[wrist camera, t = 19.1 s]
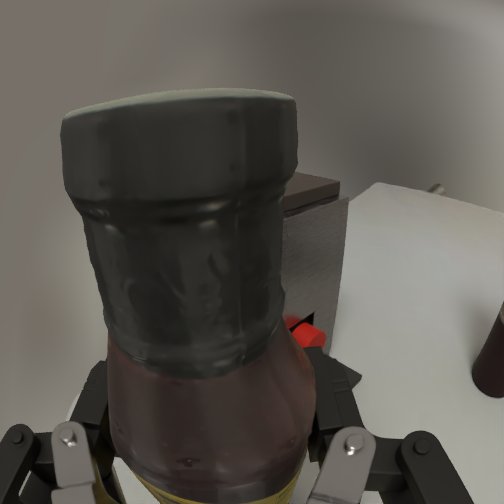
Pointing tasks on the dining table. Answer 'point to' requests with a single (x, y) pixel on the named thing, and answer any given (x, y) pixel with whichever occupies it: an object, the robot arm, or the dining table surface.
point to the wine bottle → (492, 360)
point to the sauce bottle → (195, 288)
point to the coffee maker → (313, 255)
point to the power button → (309, 336)
